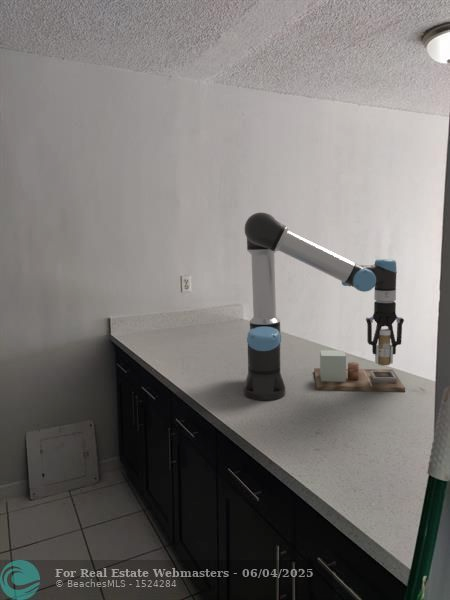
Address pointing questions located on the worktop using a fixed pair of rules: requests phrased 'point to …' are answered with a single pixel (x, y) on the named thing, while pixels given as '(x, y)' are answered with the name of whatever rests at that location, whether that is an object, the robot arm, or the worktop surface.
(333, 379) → the cover
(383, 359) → the sprinkles bottle
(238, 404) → the worktop surface
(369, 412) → the worktop surface
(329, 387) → the board
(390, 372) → the socket
